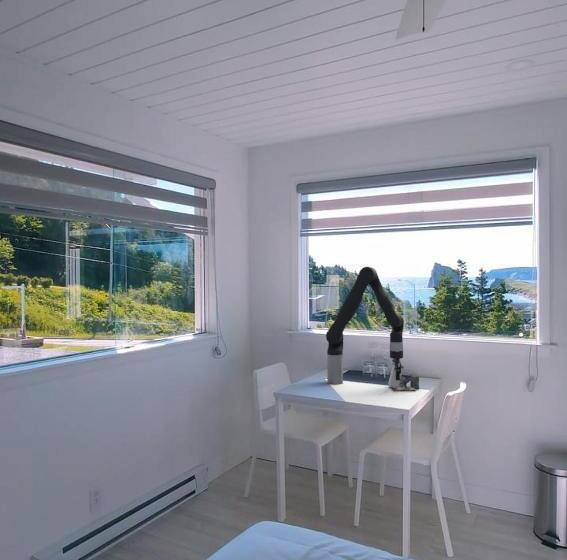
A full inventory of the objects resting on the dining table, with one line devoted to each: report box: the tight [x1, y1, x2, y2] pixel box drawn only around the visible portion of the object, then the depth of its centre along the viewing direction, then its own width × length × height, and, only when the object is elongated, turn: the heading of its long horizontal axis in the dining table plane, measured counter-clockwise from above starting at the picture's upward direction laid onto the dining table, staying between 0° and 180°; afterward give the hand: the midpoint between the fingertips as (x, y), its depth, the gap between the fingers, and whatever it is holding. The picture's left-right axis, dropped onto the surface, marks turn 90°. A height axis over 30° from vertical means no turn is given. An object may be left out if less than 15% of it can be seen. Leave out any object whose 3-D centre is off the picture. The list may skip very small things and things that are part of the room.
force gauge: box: [387, 364, 405, 388], centre depth 279 cm, size 7×5×13 cm
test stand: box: [391, 373, 420, 392], centre depth 276 cm, size 15×13×7 cm
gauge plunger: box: [400, 376, 408, 389], centre depth 277 cm, size 1×12×4 cm, turn 178°
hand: (396, 378), depth 279 cm, fingers closed on force gauge, 5 cm apart
